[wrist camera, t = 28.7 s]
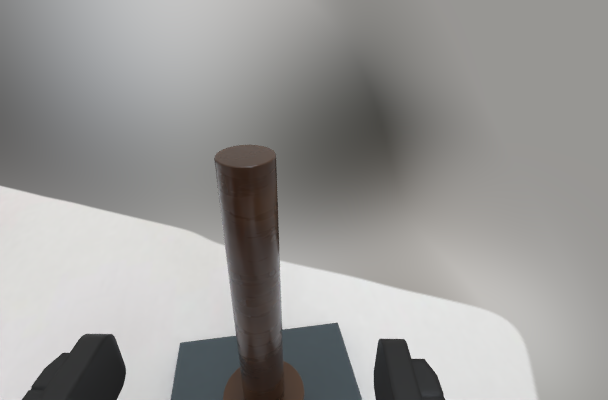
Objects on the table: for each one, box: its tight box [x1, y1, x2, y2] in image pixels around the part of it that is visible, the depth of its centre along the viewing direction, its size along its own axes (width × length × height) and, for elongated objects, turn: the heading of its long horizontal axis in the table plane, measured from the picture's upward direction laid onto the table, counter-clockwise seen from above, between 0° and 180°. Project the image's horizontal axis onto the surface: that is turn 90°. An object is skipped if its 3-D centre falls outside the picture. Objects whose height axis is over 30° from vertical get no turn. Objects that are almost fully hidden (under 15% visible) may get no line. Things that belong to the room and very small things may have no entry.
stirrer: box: [214, 145, 304, 400], centre depth 15 cm, size 4×4×14 cm
